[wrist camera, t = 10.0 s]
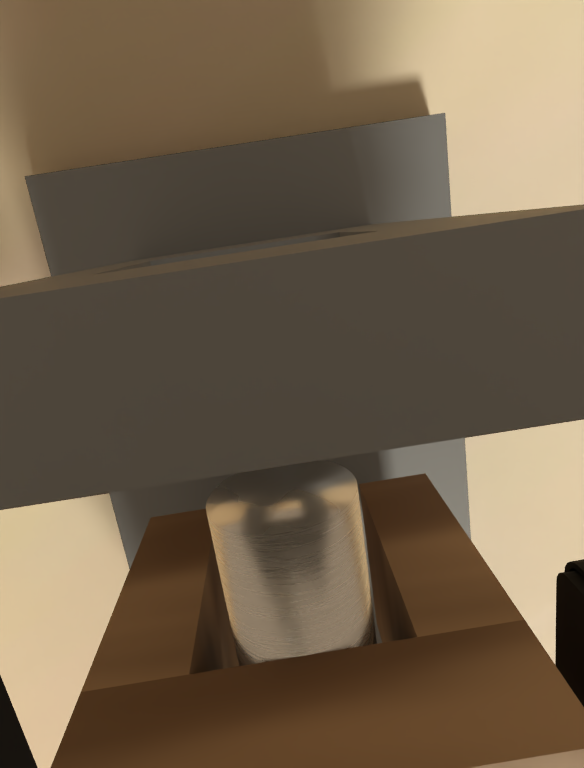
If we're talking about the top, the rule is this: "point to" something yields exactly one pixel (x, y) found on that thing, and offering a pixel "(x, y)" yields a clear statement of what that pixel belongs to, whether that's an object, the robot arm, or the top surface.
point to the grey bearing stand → (280, 323)
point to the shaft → (292, 561)
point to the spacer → (326, 664)
